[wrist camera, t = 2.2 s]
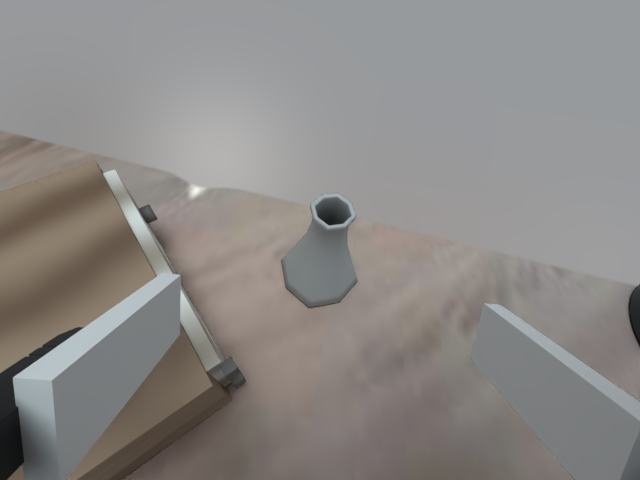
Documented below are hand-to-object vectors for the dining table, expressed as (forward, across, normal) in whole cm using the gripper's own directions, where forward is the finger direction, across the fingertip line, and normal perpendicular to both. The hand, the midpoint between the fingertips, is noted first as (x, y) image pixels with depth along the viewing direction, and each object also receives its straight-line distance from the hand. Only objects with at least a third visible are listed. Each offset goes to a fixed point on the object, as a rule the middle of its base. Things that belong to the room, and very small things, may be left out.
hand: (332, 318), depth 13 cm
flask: (+17, 0, -4) cm, 17 cm away
